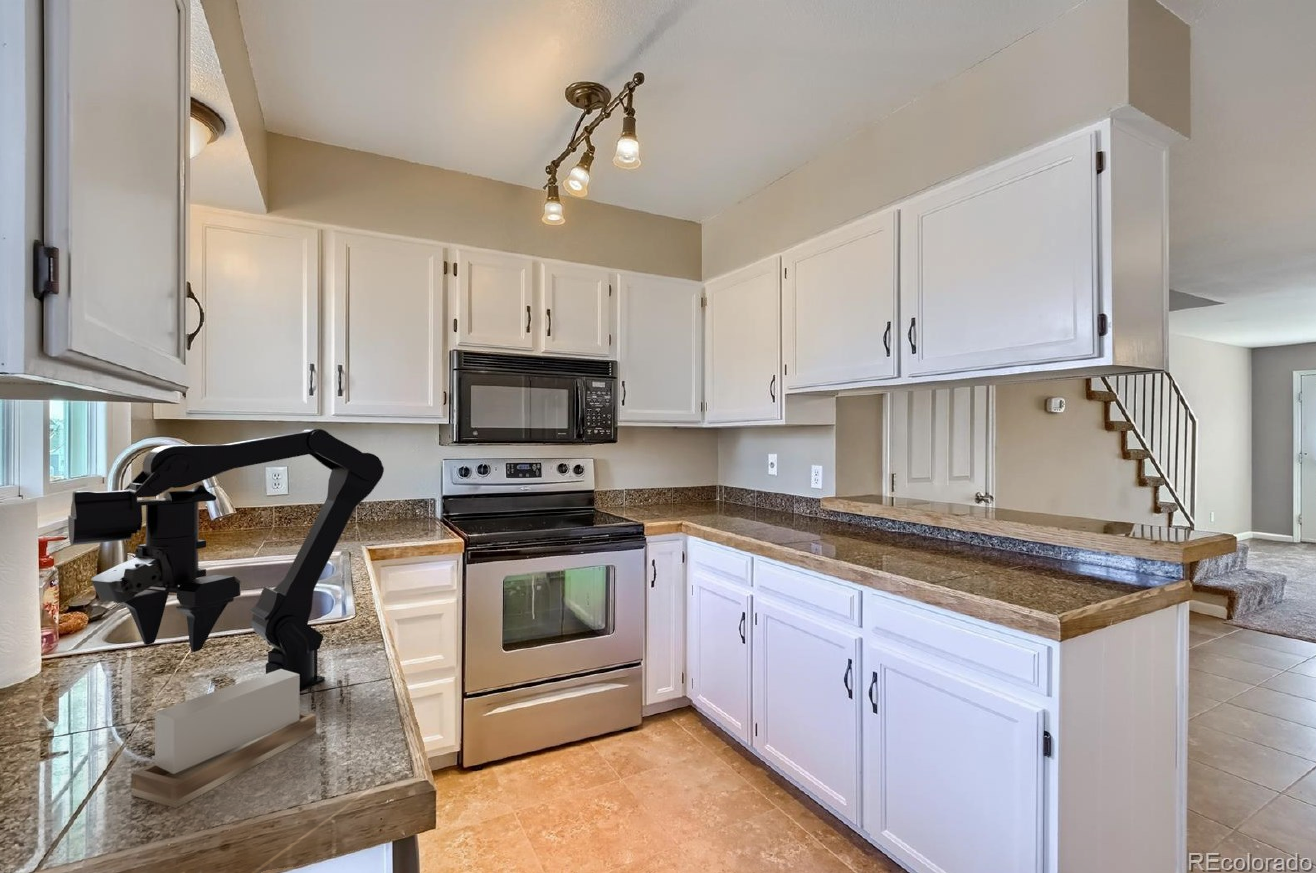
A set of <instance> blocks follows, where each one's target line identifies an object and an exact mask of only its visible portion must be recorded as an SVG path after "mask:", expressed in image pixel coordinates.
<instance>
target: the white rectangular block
mask: <svg viewBox="0 0 1316 873" xmlns="http://www.w3.org/2000/svg"><path fill="white" fill-rule="evenodd" d="M299 685H300V674H297V673H293V672H290V671H287V670H283V669H279V670H276V671H273V672H270V673H267V674H266V673H265V674H261V675H259V676H257V677H254V678H250V679H248V680H244V681H241V682H238V683H236V684H233V685H229V686H227V687H224V688H220V689H218V690H215V691H212V692H209V693H205V694H203V695H199V696H198V697H194V698H192V699H188V700H186V701H183V702H179V703H177V704H173V705H170V706H168V707H165V708H162V709H159V710H156V711H155V712H154V763H155V765H156V766H158V767H160V768H162V769H164V770H166V771H168V772H170V773H172V774H175V773H177V772H180V771H182V770H184V769H187V768H189V767H191V766H194V765H196V764H198V763H201V762H203V761H205V760H208V759H210V758H212V757H215V756H217V755H219V754H222V753H224V752H226V751H229V750H231V749H233V748H236V747H238V746H240V745H243V744H245V743H247V742H250V741H252V740H254V739H257V738H259V737H261V736H264V735H266V734H268V733H271V732H273V731H275V730H278V729H280V728H282V727H285V726H287V725H289V724H292V723H294V722H296V721H299V711H300V692H299Z"/></svg>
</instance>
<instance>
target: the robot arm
mask: <svg viewBox="0 0 1316 873" xmlns="http://www.w3.org/2000/svg"><path fill="white" fill-rule="evenodd" d="M306 455H310V456H311V457H312V458H314V459H315V460H316V461H318V462H319V463H320V464H321V465H323V466H324V467H326V468H327V469H329V470H331V472H330V475H329V478H328V485H327V496H326V500H324V503H323V505H322V507H321V509H320V511H319V512H318V514H317V516H316V518H315V520H314V522H313V524H312V526H311V528H310V529H309V531H308V532H307V535H306V537H305V539H304V541H303V543H302V545H301V547H300V549H299V551H298V552H297V554H296V556H295V558H294V560H293V562H292V564H291V565H290V568H289V570H288V571H287V573H286V575H285V577H284V578H283V580H282V581H281V582H280V583H278V584H277V585H276V586H275V588H273V589H272V588H270V587H268V586H264V587H263V589H262V590H261V593H260V596H259V598H258V601H257V603H256V604H255V605H254V606H253V607H252V608H251V609H250V613H253V615H252V618H251V620H250V621H251V626H252V629H253V632H255V634H256V635H258V636H259V637H260V638H263V639H264V640H265V642H266V643H267V645H268V646H272V647H273V648H272V649H271V650H269V651H267V662H266V663H265V674H267V673H270V672H273V671H276V670H279V669H283V670H287V671H290V672H293V673H297V674H300V685H299V693H300V692H302V691H304V690H308V689H309V688H312V687H313V686H316V685H318V684H320V683H322V682H323V683H324V681H325V680H326V677H325V676H320V675H318V674H319V673H318V672H319V670H318V669H319V668H318V661H319V660H318V658H319V657H318V656H319V655H318V654H319V653H318V651H319V649H320V648H321V645H322V642H323V640H324V635H323V633H321V632H320V631H318V630H317V629H315V628H313V627H312V626H310V625H308V624H309V620H310V617H311V614H312V613H313V612H312V611H313V604H314V594H315V593H314V592H315V588H316V585H317V584H318V582H319V581H320V579H321V576H322V575H323V572H324V570H325V568H326V566H327V564H328V562H329V560H330V558H331V556H332V554H333V552H334V550H335V548H336V546H337V545H338V543H339V540H340V539H341V536H342V534H343V533H344V530H345V529H346V526H347V525H348V523H349V520H350V519H351V517H352V515H353V512H354V510H355V509H356V507H357V506H358V505H359V504H361V502H363V501H364V500H365V499H366V498H367V497H368V496H369V495H371V493H372V492H373V491H374V489H375V488H376V486H377V485H378V483H379V482H380V481H381V479H382V477H383V475H384V471H385V466H384V465H383V463H382V461H381V459H380V458H379V457H378V456H377V455H376V454H374V453H370V452H362V451H361V450H359V449H357V448H355V447H354V446H352V445H350V444H348V443H346V442H344V441H342V440H340V439H338V438H337V437H334V436H333V435H332V434H330V433H329V432H328V431H327V430H324V429H322V428H309V429H308V428H307V429H304V430H302V431H299V432H298V431H297V432H293V433H292V432H291V433H286V434H281V435H274V436H268V437H262V438H255V439H248V440H243V441H237V442H231V443H230V442H228V443H225V444H185V445H182V444H179V445H177V444H176V445H175V444H174V445H173V444H171V445H161V446H158V447H155V448H153V449H152V450H150V451H149V452H148V453H147V454H146V455H145V456H144V459H143V461H142V470H141V471H140V472H139V474H137V475H136V476H135V478H133V479H132V481H131V482H129V484H128V485H127V486H126V487H125V488H124V489H123V490H103V491H93V490H92V491H91V490H77V491H76V490H75V491H73V492H72V493H71V494H72V499H71V500H72V501H71V506H70V515H68V516H67V518H68V520H67V525H68V526H67V527H68V540H69V543H70V546H79V545H90V544H100V543H110V542H120V541H130V540H131V538H132V535H134V534H138V532H141V531H142V527H143V506H145V543H144V544H138V545H137V547H136V548H135V549H134V553H135V554H134V558H131V559H129V560H127V561H124V562H121V563H119V564H117V565H115V566H113V567H111V568H109V569H107V570H105V571H103V572H101V573H99V574H97V575H95V576H93V577H92V578H90V581H91V583H92V585H93V587H94V590H95V592H96V594H97V597H99V598H98V599H99V600H100V601H101V602H106V601H107V602H108V601H109V602H113V603H115V604H119V605H120V606H121V605H122V606H124V607H125V608H127V609H128V610H129V612H130V615H131V616H132V618H133V620H134V623H135V626H136V628H137V630H138V633H139V635H140V637H141V640H142V642H143V644H144V645H145V646H146V645H147V646H148V645H152V644H154V643H155V642H156V639H157V637H158V634H159V629H160V627H161V623H162V619H163V616H164V612H165V608H166V604H167V601H168V598H169V595H170V593H172V594H176V599H177V601H178V602H179V604H180V605H177V606H175V608H176V609H177V610H178V611H179V612H181V613H182V614H184V615H185V616H186V623H187V632H188V642H189V647H190V648H189V649H190V652H192V653H196V652H199V651H201V650H202V649H203V648H204V646H205V643H206V642H207V640H208V638H209V635H210V634H211V633H212V630H213V629H214V626H215V625H216V623H217V621H218V620H219V618H220V616H221V615H222V613H223V612H224V610H225V608H226V607H227V605H228V604H229V603H231V602H233V601H234V599H235V598H236V597H240V596H241V595H242V592H241V591H242V588H241V587H242V586H241V584H242V582H241V580H240V579H238V578H237V577H236V576H235V575H234V576H233V575H226V574H225V575H224V574H213V575H209V576H207V568H199V550H200V549H204V548H207V540H206V539H205V540H204V539H199V537H200V536H199V533H200V532H199V519H200V518H199V517H200V516H199V513H200V512H199V506H200V505H199V504H200V502H213V501H214V502H215V501H216V500H217V496H216V495H214V494H213V493H211V491H209V490H207V488H206V487H205V486H204V484H197V483H200V482H202V481H203V482H204V481H205V480H206V481H207V480H208V479H211V478H213V477H216V476H217V475H220V474H222V473H225V472H228V471H231V470H233V469H239V468H244V467H250V466H253V465H259V464H265V463H270V462H275V461H281V460H286V459H291V458H296V457H300V456H306ZM194 484H195V486H194V487H193V488H191V489H186V490H185V489H184V490H169V489H171V488H173V489H174V488H177V489H179V488H185V487H189V486H191V485H194ZM163 493H164V496H163V498H154V497H158V496H160V495H161V494H163ZM139 498H152V499H139Z"/></svg>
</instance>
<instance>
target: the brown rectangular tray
mask: <svg viewBox="0 0 1316 873" xmlns="http://www.w3.org/2000/svg"><path fill="white" fill-rule="evenodd" d="M316 733H317V714H315V713H310V712H306V711H300V710H299V721H296V722H294V723H292V724H289V725H287V726H285V727H282V728H280V729H278V730H275V731H273V732H271V733H268V734H266V735H264V736H261V737H259V738H257V739H254V740H252V741H250V742H247V743H245V744H243V745H240V746H238V747H236V748H233V749H231V750H229V751H226V752H224V753H222V754H219V755H217V756H215V757H212V758H210V759H208V760H205V761H203V762H201V763H198V764H196V765H194V766H191V767H189V768H187V769H184V770H182V771H180V772H177V773H175V774H172V773H170V772H168V771H166V770H164V769H162V768H160V767H158V766H156V765H155V762H153V763H150V764H148V765H146V766H144V767H142V768H139V769H138V770H135V771H133V772H131V774H130V775H131V778H130V781H131V782H130V783H131V784H130V786H131V788H130V789H131V791H130V793H131V794H130V796H134V797H137V798H140V799H144V800H146V801H150V802H152V803H153V802H154V803H157V804H160V805H164V806H167V807H171V808H174V809H177V808H179V807H182V806H183V805H185V804H186V803H187V804H188V803H190V801H192V800H195V799H196V798H198V797H200V796H202V795H203V794H205V793H207V792H210V791H211V790H213V789H215V788H216V787H218V786H220V785H222V784H224V783H226V782H227V781H230V780H231V779H233V778H235V777H237V776H238V775H240V774H242V773H245V772H246V771H248V770H249V769H251V768H253V767H255V766H257V765H259V764H261V763H263V762H264V761H266V760H268V759H271V758H272V757H274V756H276V755H278V754H279V753H281V752H283V751H285V750H288V748H291V747H292V746H294V745H296V744H298V743H300V742H301V741H303V740H305V739H307V738H309V737H311V736H313V735H315V734H316Z"/></svg>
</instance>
